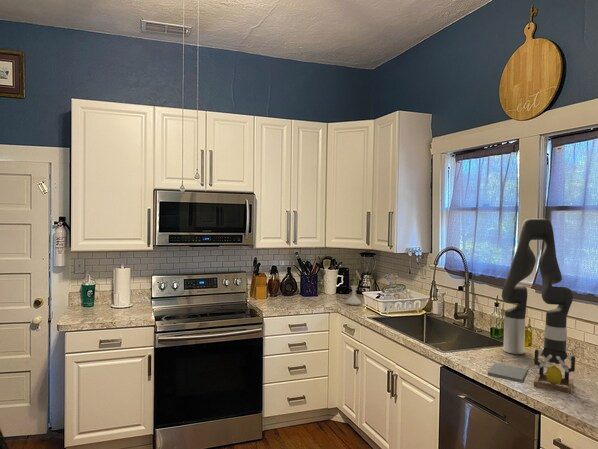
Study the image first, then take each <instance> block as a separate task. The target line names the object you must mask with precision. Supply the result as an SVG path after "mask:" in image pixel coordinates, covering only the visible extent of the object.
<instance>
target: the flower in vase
mask: <svg viewBox="0 0 598 449" xmlns="http://www.w3.org/2000/svg"><path fill="white" fill-rule="evenodd" d="M355 273H356V276H355V279H354V281H353V282H352V284H353V285H350V287H351V290H352V291H351V292H352V293H351V296H350V297H349V298H347V299H346V300H345V303H346V304H347V305H349V306H359V305H361V304H362V301H361V299H360V298H358V297H357V296H356V290H357V288H358V285H355V284H357V281H356V279H358V280H359V281H361V280H362V278H361V275H360V274H359V272H358V270H355ZM357 277H358V278H357Z"/></svg>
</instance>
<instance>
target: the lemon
mask: <svg viewBox="0 0 598 449" xmlns="http://www.w3.org/2000/svg"><path fill="white" fill-rule="evenodd" d="M545 374H546V379H547V380H546V381H547V383H549V384H554V385H559V384H561V383H560V382H561V380H562V378H563V374H562V371H561V369H560V368H559V367H557V366H556V365H551V366H549V367H548V368H547V369H546V371H545Z"/></svg>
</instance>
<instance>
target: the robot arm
mask: <svg viewBox="0 0 598 449" xmlns="http://www.w3.org/2000/svg"><path fill="white" fill-rule="evenodd" d="M520 228H521V229H520V233H519V238H518V239H519V240H518V243H517V248H516V251H515V253H514V256H513V259H512V262H511V265H510V270H509V272H508V276H507V278H506V280H505V282H504V285H503V288H502V289H501V290H502V291H501V299H502V301H503V302H505V303H509V304H516V305H515V306H513V307H511V308H507V309H506V310H504V325H503V326H504V327H503V345H502V346H503V349H502V350H503V351H504V352H506V353H509V354H514V355H522V354H525V340H526V339H525V335H526V332H525V331H526V314H527V303H528V288H527V287H526V285H524V284H519V283H520V282H522V281H524V280H525V279H526V278H528V277H529V276H530V275H532V273H533V271H534V269H535V266H536V262H537V258H536V255H535V254H534V252H533V250H532V249H531V246H530V242H531V241H543V242H544V249H543V250H542V253H541V255H540V258H539V260H538V269H539V272H540V275H541V299H542V300H543V302H544V303H545V304H547V305H557V307H556V308H554V309H549V310H547V311H546V312H545V313H546V314H545V328H544V332H543V335H544V336H543V349H539V348H535V350H534V355H533V356H534V359H533V363H534V365H535V366H538V368H539V369H538V371H539V372H538V373H539V374H540V375H541V377H543V374H545V371H544V369H545V365H546V364H547V363H548V362H549V363H550V364H556V365H561V367H562V368H563V370H564V377H563V378H564V381H565V382H567V380H569V379H570V373H574V372H575V370H576V369H575V368H576V355H574V354H571V355H570V354H567V339H568V334H567V332H568V331H567V320H568V319H567V317H568V315H569V312H570V308H571V305H572V304H573V300H574V295H573V291H572V290H571V289H570V288H569V287H566V286H553V285H554V284H558V283H560V282H562V280H563V275H562V272H561V269H560V265H559V263H558V258H557V252H556V243H555V242H556V241H555V234H554V228H553V224H552V222H551V221H550V219H548V218H527V219H525V220H524V221H523V222H522V225H521V227H520ZM541 354H542V355H543V356H544V359H543V360H542V361H539V356H541ZM566 359H568V360H569V361H570V367H569V366H568V365H567V363H566V361H565V360H566Z"/></svg>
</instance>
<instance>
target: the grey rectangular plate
mask: <svg viewBox="0 0 598 449" xmlns="http://www.w3.org/2000/svg"><path fill="white" fill-rule="evenodd" d="M528 370H529V369H528V368H524V367H521V366H520V367H519V366H514V365H510V364H505V363H504V364H503V363H500V362H494V363H493V365H492V366H490V369H489V370H488V371H487V375H488V376H492V377H496V378H502V379H507V380H512V381H515V382H520V383H523V382H524V379H525V377H526V375H527V373H528Z"/></svg>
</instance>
